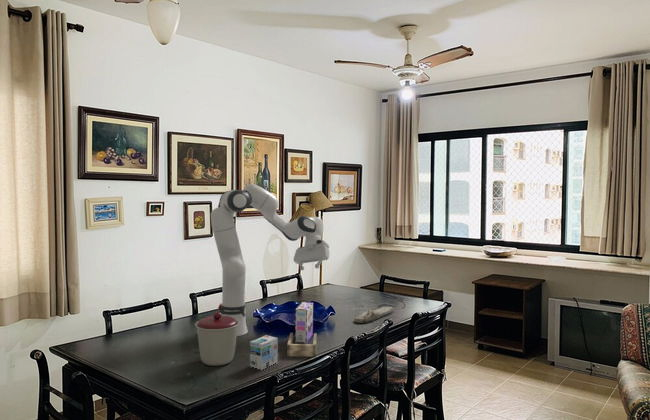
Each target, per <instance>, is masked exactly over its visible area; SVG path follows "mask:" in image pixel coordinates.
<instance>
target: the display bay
mask: <svg viewBox="0 0 650 420" xmlns="http://www.w3.org/2000/svg"><path fill="white" fill-rule="evenodd" d="M317 338H318V337H317V332H316V333H313V341H312V342H313V343H312V344H310V343H294V332H290V333H289V337H288V341H287V344H286V345H287V347H286V348H287V349H286V350H287V351H286V354H287V355H286V356H287V357H311V358H312V357H316V355H317V346H318V344H317V341H318V340H317Z"/></svg>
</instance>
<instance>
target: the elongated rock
mask: <svg viewBox="0 0 650 420" xmlns="http://www.w3.org/2000/svg"><path fill="white" fill-rule="evenodd" d="M393 312H394V308H393V307H391V306H382V307H379V308H375V309H374V310H373V309H372V310H371V309H370V310H367V311H366V310H365V311H363V312H361V313H360V314H358V315H356V316H355V317H354V322H355V323H359V324H360V323H361V324H365V323H370V322H375V321H376V320H377V319H379V318H381V317H385V316H389V315H390V314H391V313H393Z"/></svg>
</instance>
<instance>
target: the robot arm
mask: <svg viewBox="0 0 650 420" xmlns="http://www.w3.org/2000/svg"><path fill="white" fill-rule="evenodd" d="M278 205H279V202H278V197H276V196H275V195H274V194H273V193H272V192H270V191H269V190H267V189H265V188H263V187H262V186H259V185H258V184H255V183H249V184H247V185H246V186H244V188H243V189H230V190H227V191H225V192H223V193H221V196H220V198H219V203H218V205H217V207H216V208H214V209H213V210H212V211H211V212H210V223H211V229H212V234H213V237H214V241H215V244H216V248H217V252H218V255H219V259H220V263H221V267H222V268H221V269H222V287H221V289H222V291H221V292H222V295H221V296H222V297H221V298H222V301H221V303H219V305H218V307H217V310H218V311H217V312H220V313H221V314H222V316H230V317H233V318H235V319H237V320H238V321H239V325H238V328H237V337H240V336H244V335H247V333H249V331H248V327H247V323H246V322H247V321H246V313H247V312H246V311H247V309H246V308H247V307H246V303H245V302H246V299H245V297H246V296H245V295H246V292H245V289H246V270H247V269H246V264H245V261H244V258H243V253H242V249H241V245H240V241H239V237H238V232H237V228H236V225H235V221H234V216H235V213H238V212H239V213H240V212H243V211H244V210H246V209H247V208H248V207H249V206H250V207H253V208H254V209H255V210H257V211H258V212H259V213H261V215H262V216H263V218H264V219H265V220H266V221H267V222H268V223H270V224H271V226H274V227H275V228H276V229H277V230H278V231H280V233H281V234H282V235H283V236H284V237H285V238H286V239H287V240H289V241H291V242H295V241H297V240H299V239H300V238H301V237H305V240H304V246H302V247H300V246H299V247H298V248H297V249H296V250H295V254H294V256H293V262H294V263H295V265H296V264H297V265H298V266H299V270H300V271H304V270H305V267H304V266H303V265H304V264H308V263H313V262H314V263H315V262H317V263H316V264H314V268H315V269H320V266H321V264H322V263H323V261H327V260H329V259H330V249H329V248H330V244H328V243H327V242H326V241H325V240H324V239H322V238H323V235H324V222H323V220H322V218H320V217H318V216H311V217H309V216H306V215H301V216H299V217H296V218H295V219H294V220H292V221H290V222H289V221H287V220H285V219H284V218H283V217H281V215H279V214H278V213H277V210H278V207H279V206H278Z"/></svg>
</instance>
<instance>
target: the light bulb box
mask: <svg viewBox="0 0 650 420" xmlns="http://www.w3.org/2000/svg"><path fill="white" fill-rule="evenodd" d="M278 341H279V339H278V337H275V336H271V335H267V334H265V335H263V336H261V337H259V338H256V339H254V340H250V341H249V367H250V366H251V367H250V368H252V367H254V368H253V369H255V368H257V369H256V370H259V369H260V371H263V369H264V370H266V369H268V368H270V367H272V366H273V364H274V365H276V364H278V349H279V348H278V346H279V344H278V343H279V342H278ZM275 363H276V364H275ZM271 365H272V366H271ZM269 366H270V367H269ZM267 367H268V368H267ZM265 368H266V369H265Z"/></svg>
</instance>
